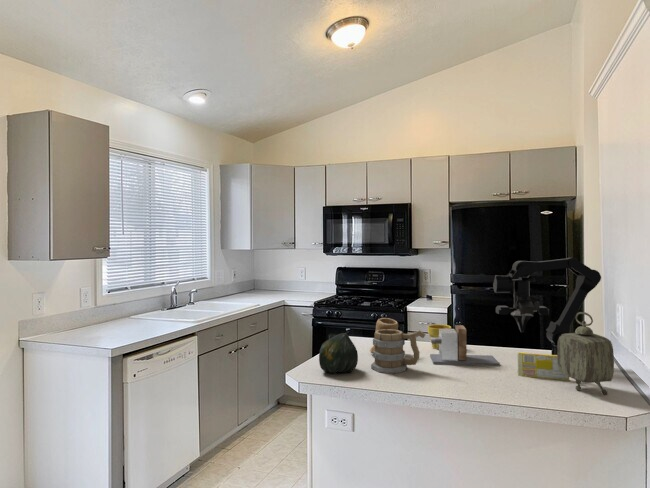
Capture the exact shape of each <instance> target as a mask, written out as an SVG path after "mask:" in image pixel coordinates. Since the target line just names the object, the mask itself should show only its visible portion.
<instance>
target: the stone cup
mask: <svg viewBox="0 0 650 488" xmlns="http://www.w3.org/2000/svg"><path fill="white" fill-rule="evenodd" d="M383 329H386V330H387V329H392V330H399V322H398V321H397V320H395V319H393V318H389V317H381V318H378V319H377V321H376V323H375V332H376V331H377V330H383ZM374 350H375V345H373V346H372V347H371V348H370V350H369V352H370V354H373V351H374Z"/></svg>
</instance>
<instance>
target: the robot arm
mask: <svg viewBox="0 0 650 488" xmlns="http://www.w3.org/2000/svg"><path fill="white" fill-rule="evenodd" d="M511 266H512V267H511V270H510V271H509V273H507V274H506V275H498V274H495V275H494V279H493V283H492V286H493V291H494V293H506V294H508V293H511V292H512V291H513V306H512V307H509V306H507V305H497V306H496V307H495V313H496V314H498V315H502V316H503V315H509V314H510V315H511V316H512V317H513V318H514V319H515V321H516V324H517V326H518V329H519V331H520V333H524V332H525V329H526V326H527V324H528V321H529V320H530V319H531V318H533V317H534V314H539V315H541V316H550V309H549V308H548V307H547V306H544V305H540V302H539V300H533V301H532V298H531V295H530V291H531V288H530V287H531V285H530V283H531V282H536V279H535V278H534V277H533V276H532V275H534V274H536V273H539V272H544V271H545V272H546V271H554V270H563V269H568V270H570V271H571V272H572V273H573V274H574V275H575V276H577V277H576V279H575V288H574V290H573V292H572V294H571V296H570V297H569V299H568V301H567V303H566V305H565V306H564V309H563V310H562V313H561V314H560V316H559V317H558V320H556V321H555V322H554V321H550V322H549V324H548V327H547V328H546V329H545V331H546V334H545V336H546V338H547V340H548V341H549V342H551V346H552V349H551V353H550V354H551V355H557V347H558V339H559V337H560V336H561V335H562V334H568V333H571V325H572V323H573V321H574V320H575V319H576V318H575V317H576V314H577V313H579V312H580V308H581V307H582V305H583V303H584V301H585V299H586V298H587V296H588V294H589V293H590V292H591V291H592V290H594V289H595V288H596V287H597V286H598V284H599V283H600V282H601V281H602V276H601V273H600V272H599V270H596V269H593V268H592V269H591V268H590V267H589V266H587V265H586V264H584V263H582V262H581V261H579V260H578V259H577V258H576V257H567V258H560V259H551V260H548V259H547V260H541V261H528V260H517V261H515V262H514V263H513V264H512V265H511Z"/></svg>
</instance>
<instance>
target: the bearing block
mask: <svg viewBox="0 0 650 488" xmlns="http://www.w3.org/2000/svg"><path fill="white" fill-rule="evenodd" d="M439 338H441V344H439V349H438V354H439V356H440V358H441V360H442V361H458V343H457V332H456V331H455V328H451V329H439Z"/></svg>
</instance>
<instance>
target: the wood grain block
mask: <svg viewBox="0 0 650 488" xmlns="http://www.w3.org/2000/svg"><path fill="white" fill-rule="evenodd" d="M454 327H455V328H454V330H455V331H456V332H457V343H458V360H467V355H468V353H467V328H466V327H465V326H464V325H461V324H459V325H458V324H455V325H454ZM430 342H431V345H432V344H441V338H433V337H431V339H430Z"/></svg>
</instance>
